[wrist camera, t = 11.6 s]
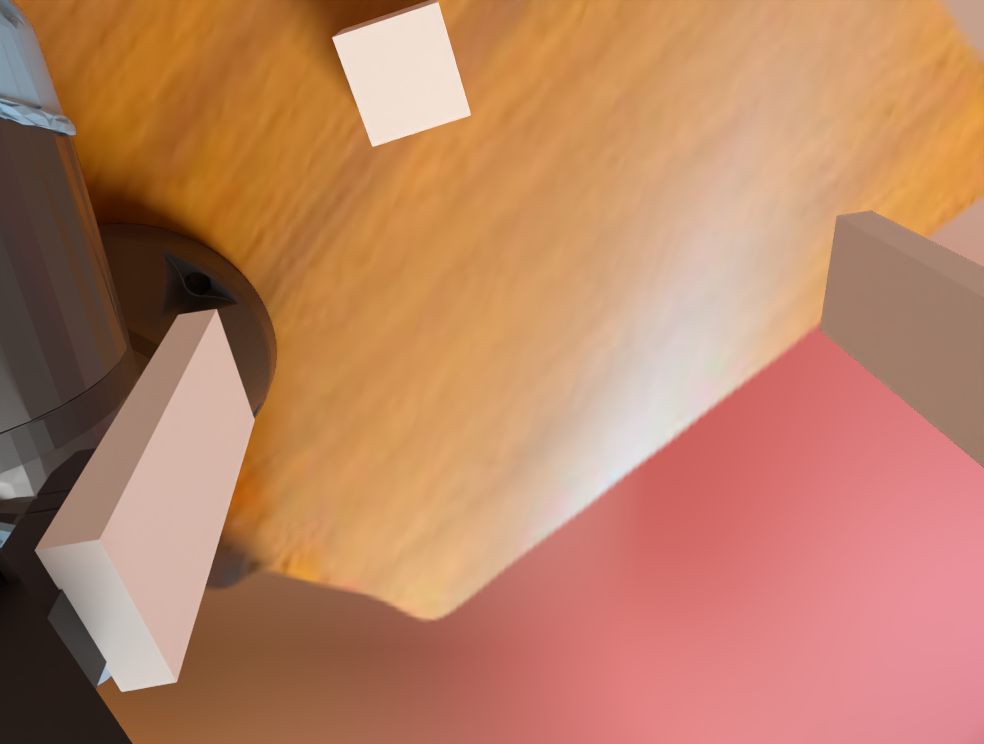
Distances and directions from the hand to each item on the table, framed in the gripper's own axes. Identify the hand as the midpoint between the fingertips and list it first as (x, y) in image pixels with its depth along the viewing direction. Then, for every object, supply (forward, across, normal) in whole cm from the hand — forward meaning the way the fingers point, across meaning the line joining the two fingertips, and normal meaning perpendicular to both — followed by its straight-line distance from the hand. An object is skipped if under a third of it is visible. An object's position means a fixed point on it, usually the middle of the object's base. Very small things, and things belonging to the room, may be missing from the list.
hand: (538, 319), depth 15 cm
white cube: (+27, -2, +2) cm, 27 cm away
